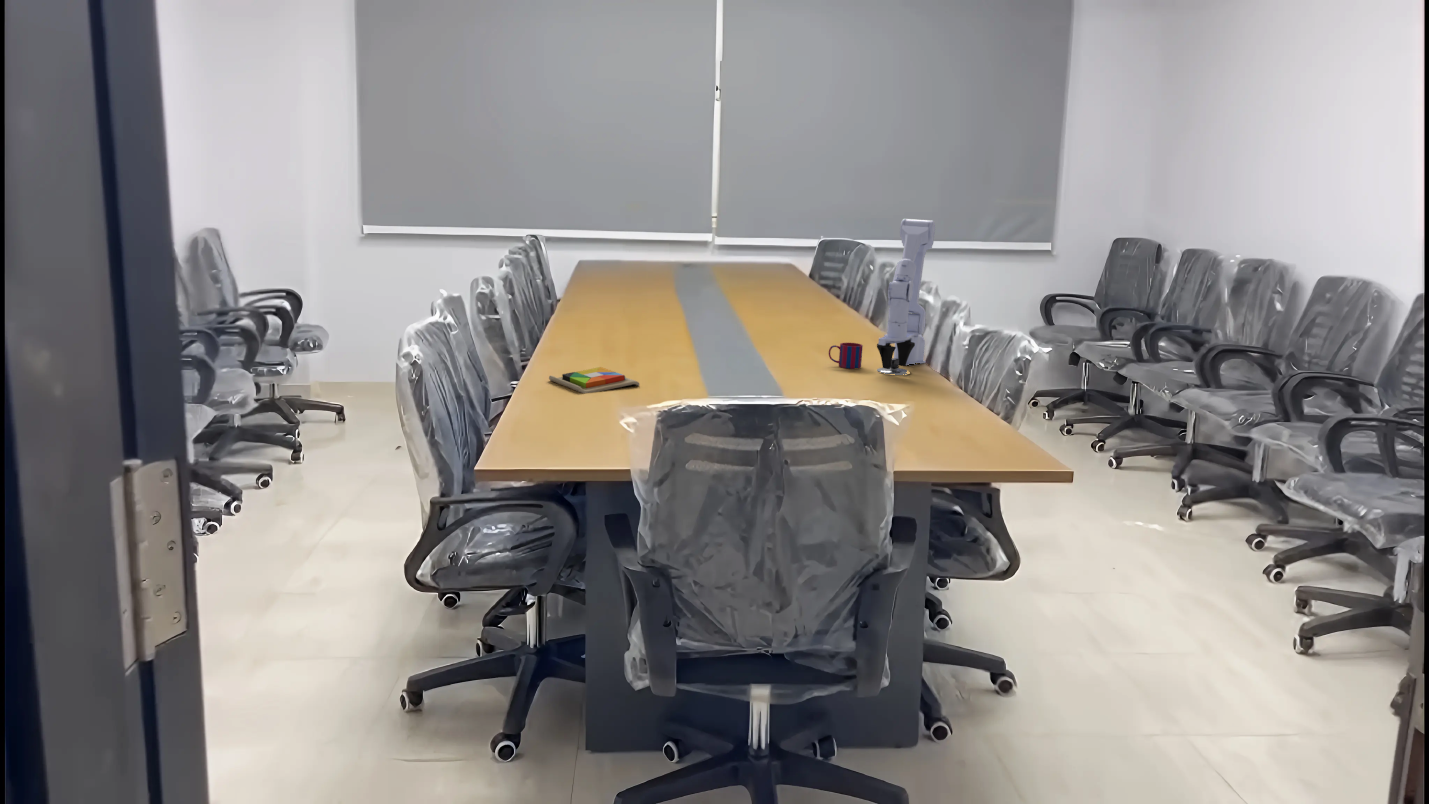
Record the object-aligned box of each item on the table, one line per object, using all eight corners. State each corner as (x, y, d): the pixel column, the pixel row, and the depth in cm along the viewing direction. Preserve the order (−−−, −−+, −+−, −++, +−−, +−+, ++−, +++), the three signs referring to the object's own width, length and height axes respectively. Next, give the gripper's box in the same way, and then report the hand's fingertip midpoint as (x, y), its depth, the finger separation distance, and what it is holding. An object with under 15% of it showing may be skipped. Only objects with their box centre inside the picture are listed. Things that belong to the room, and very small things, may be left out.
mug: (861, 369, 324) (863, 347, 323) (827, 367, 325) (829, 345, 323) (860, 365, 331) (862, 343, 329) (827, 363, 331) (829, 341, 330)
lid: (890, 368, 329) (891, 354, 328) (917, 374, 322) (918, 360, 321) (869, 372, 322) (870, 357, 321) (896, 378, 315) (898, 363, 314)
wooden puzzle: (546, 382, 291) (546, 369, 290) (606, 376, 303) (607, 363, 302) (580, 395, 278) (580, 382, 277) (641, 388, 289) (641, 375, 288)
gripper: (901, 317, 326) (898, 362, 329) (871, 321, 317) (868, 367, 320) (921, 321, 321) (917, 366, 325) (891, 325, 312) (887, 371, 315)
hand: (894, 367), depth 322 cm, fingers open, 7 cm apart
